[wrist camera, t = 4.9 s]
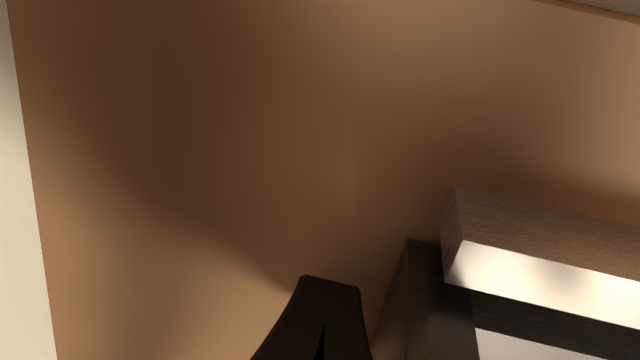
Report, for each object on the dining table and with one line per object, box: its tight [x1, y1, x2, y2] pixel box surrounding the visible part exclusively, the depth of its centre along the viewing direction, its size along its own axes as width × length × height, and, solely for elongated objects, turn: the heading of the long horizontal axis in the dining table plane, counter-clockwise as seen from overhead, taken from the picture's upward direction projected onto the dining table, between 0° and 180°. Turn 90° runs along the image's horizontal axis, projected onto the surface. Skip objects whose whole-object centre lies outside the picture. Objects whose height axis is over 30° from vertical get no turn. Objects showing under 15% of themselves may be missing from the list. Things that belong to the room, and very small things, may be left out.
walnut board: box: [6, 0, 640, 360], centre depth 12 cm, size 18×14×1 cm
